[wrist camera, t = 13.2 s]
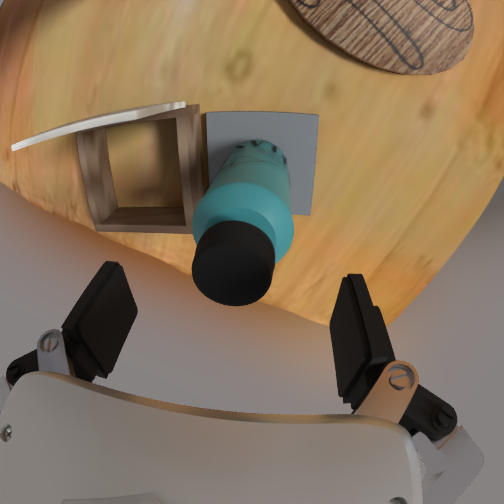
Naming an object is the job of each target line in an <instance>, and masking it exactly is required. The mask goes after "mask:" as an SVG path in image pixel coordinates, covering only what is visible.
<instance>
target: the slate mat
mask: <svg viewBox="0 0 504 504" xmlns="http://www.w3.org/2000/svg"><path fill="white" fill-rule="evenodd" d="M318 122H319V115H315V114H304V113H289V112H267V111H223V112H207V113H206V123H207V148H208V168H209V186H210V184H212V183H211V182H213V181H214V179H215V178H216V176H217V175H218V174H216V172H217V171H219V169H220V170H221V169H222V167H223V166H224V165H223V166H222V167H221V165H222V164H223V162H225V160H226V161H227V160H228V158H227V157H229V156H230V155H231V154H232V152H233V151H234V150H235V149H236V148H235V147H237V146H238V145H241V144H242V143H244V141H245V142H247V140H248V141H250V140H259V139H260V140H261V139H262V140H266V141H268V140H269V141H268V142H271V143H273V144H274V145H276V146H277V145H278V148H279V149H280V150H281V151H282V150H283V152H284V153H283V152H282V153H283V154H284V156H285V157H286V159H287V166H288V167H287V169H288V172H290V174H289V173H288V174H289V177H288V179H289V181H290V182H289V184H290V185H289V192H291V193H289V194H290V204H291V214H294V215H310V213H311V204H312V195H313V185H314V174H315V163H316V151H317V137H318ZM255 138H258V139H255ZM240 143H241V144H240ZM229 154H230V155H229ZM225 163H226V162H225ZM225 163H224V164H225ZM219 172H220V171H219ZM219 172H217V173H219ZM214 175H215V176H214ZM212 179H213V180H212ZM210 181H211V182H210Z"/></svg>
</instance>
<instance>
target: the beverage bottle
mask: <svg viewBox="0 0 504 504" xmlns="http://www.w3.org/2000/svg"><path fill="white" fill-rule="evenodd" d="M255 139H258V138H255ZM268 141H269V140H268ZM268 141H266V140H262V139H261V140H260V139H259V140H250V141H248V140H247V142H245V141H244V143H242V144H241V143H240V144H241V145H238V146H237V147H235V148H236V149H235V150H234V151H233V152H232V154H231V155H230V154H229V155H230V156H229V157H227V158H228V160H227V161H226V160H225V162H226V163H225V162H223V164H222V165H221V167H222V166H223V165H224V166H223V167H222V169H221V170H220V169H219V171H220V172H219V171H217V172H219V173H217V172H216V174H218V175H217V176H216V178H215V179H214V181H213V182H211V181H210V182H211V183H212V184H210V187H209V188H208V186H209V185H208V186H207V188H208V190H207V189H206V191H207V192H205V193H206V194H205V195H204V196H203V197H202V199H201V200H200V201H199V203H198V204H197V206H196V208H195V210H194V214H193V218H192V232H193V236H194V240H195V242H196V244H197V247H196V251H195V256H194V260H193V263H192V276H193V280H194V283H195V284H196V286H197V288H198V289H199V290H200V291H201V292H202V293H203V294H204V295H205V296H206V297H208V298H209V299H211V300H213V301H215V302H217V303H220V304H223V305H228V306H244V305H248V304H251V303H254V302H256V301H258V300H259V299H260V298H262V297H263V296H264V295H265V294H266V292H267V291H268V289H269V287H270V285H271V281H272V275H273V271H274V268H275V264H276V263H277V262H278V261H280V260H281V259H282V258H283V257H284V255H285V254H286V253H287V251H288V250H289V248H290V246H291V243H292V240H293V236H294V224H293V218H292V215H291V204H290V194H289V193H291V192H289V185H290V184H289V182H290V181H289V179H288V177H289V174H290V172H288V169H287V167H288V166H287V159H286V157H285V156H284V154H283V153H284V152H283V150H282V151H281V150H280V149H279V148H278V145H277V146H276V145H274V144H273V143H271V142H268ZM282 152H283V153H282ZM224 163H225V164H224ZM288 173H289V174H288ZM214 176H215V175H214ZM212 180H213V179H212ZM203 194H204V193H203Z"/></svg>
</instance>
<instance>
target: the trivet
mask: <svg viewBox="0 0 504 504" xmlns="http://www.w3.org/2000/svg"><path fill="white" fill-rule="evenodd" d="M288 1H289V2H290V3H291V5H292V6H293V7H294V9H295V10H296V11H297V13H298V14H299V15H300V17H301V18H302V20H303V21H304V22H305V23H307V24H308V25H309V26H310V27H311V28H312V29H313V30H314V31H316V32H317V33H318V34H319V35H320V36H321V37H322V38H323V39H324V40H325V41H327V42H329V43H330V44H332V45H333V46H335V47H336V48H338V49H340V50H341V51H343V52H344V53H346V54H347V55H349V56H350V57H352V58H355V59H357V60H359V61H362V62H364V63H366V64H368V65H370V66H373V67H375V68H377V69H381V70H386V71H390V72H394V73H398V74H402V75H432V74H436V73H439V72H443V71H446V70H450V69H451V68H452V67H454V66H455V65H456V64H458V63H459V62H460V61H462V60H463V59H464V57H465V55H466V54H467V52H468V50H469V48H470V47H471V45H472V39H473V32H474V21H473V14H472V8H471V5H470V3H469V0H288Z"/></svg>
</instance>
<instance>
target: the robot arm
mask: <svg viewBox="0 0 504 504" xmlns="http://www.w3.org/2000/svg"><path fill="white" fill-rule="evenodd" d="M137 312H138V310H137V306H136V303H135V301H134V298H133V295H132V293H131V290H130V287H129V284H128V282H127V279H126V276H125V273H124V270H123V267H122V266H121V265H120V264H119V263H118V262H112V261H106V262H105V263H104V264H103V265H102V267H101V268H100V269H99V271H98V272H97V273H96V275H95V276H94V278H93V279H92V280H91V282H90V283H89V285H88V286H87V288H86V289H85V291H84V292H83V294H82V295H81V297H80V298H79V300H78V301H77V303H76V304H75V306H74V307H73V309H72V311H71V312H70V314H69V315H68V317H67V318H66V320H65V322H64V323H63V325H62V329H63V330H62V332H60V331H59V330H57V329H51V330H48V331H46V332H45V333H43V334H42V335H41V337H40V338H39V340H38V343H37V349H36V350H34V351H32V352H30V353H28V354H26V355H24V356H22V357H20V358H18V359H16V360H14V361H13V362H12V363H11V364H10V365H9V367H8V368H7V372H6V377H5V376H2V377H1V378H0V504H453V503H454V502H455V501H456V500H457V499H458V498H459V496H460V495H461V494H462V493H463V492H464V491H465V490H466V488H467V487H468V486H469V485H470V484H471V482H472V481H473V480H474V479H475V477H476V476H477V475H478V474H479V472H480V471H481V469H482V467H483V465H484V455H483V453H482V451H481V450H480V449H479V447H478V446H477V445H476V444H475V442H474V441H473V439H472V438H471V437H470V436H469V434H468V433H467V432H466V430H465V429H464V428H463V427H462V426H460V427H459V426H458V425H457V415H456V412H455V410H454V408H453V407H451V405H449V404H448V403H446V402H445V401H443V400H442V399H440V398H439V397H437V396H436V395H434V394H433V393H431V392H429V391H428V390H427V389H425V388H424V387H422V386H421V385H419V384H418V382H419V377H418V374H417V371H416V369H415V368H414V367H413V366H412V365H411V364H409V363H407V362H405V361H399V360H398V361H396V360H395V356H394V352H393V349H392V345H391V342H390V339H389V336H388V332H387V329H386V326H385V323H384V320H383V317H382V314H381V311H380V309H379V307H378V306H373V303H372V300H371V297H370V294H369V291H368V289H367V286H366V283H365V280H364V277H363V275H362V274H348V275H347V277H343V279H342V282H341V286H340V289H339V293H338V297H337V300H336V303H335V307H334V310H333V314H332V317H331V320H330V334H331V341H332V348H333V355H334V362H335V370H336V378H337V387H338V395H339V397H343V403H351V408H352V409H353V411H352V413H351V414H337V415H335V414H334V415H333V414H332V415H331V414H327V415H280V414H256V413H242V412H230V411H222V410H212V409H205V408H198V407H192V406H185V405H180V404H174V403H169V402H163V401H158V400H154V399H149V398H145V397H141V396H136V395H133V394H129V393H125V392H121V391H118V390H114V389H110V388H107V387H104V386H101V385H97V384H96V382H95V379H94V378H95V376H96V375H97V376H99V377H102V378H105V379H106V378H107V377H108V374H109V373H111V372H112V370H113V368H114V366H115V363H116V361H117V359H118V356H119V354H120V352H121V349H122V347H123V344H124V342H125V340H126V338H127V335H128V333H129V331H130V329H131V326H132V325H133V322H134V320H135V318H136V316H137ZM417 451H418V453H419V454H420V455H421V456H422V458H421V460H422V462H423V463H424V465H425V467H426V475H425V478H424V479H423V481H421V472H420V465H419V460H418V455H417Z"/></svg>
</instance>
